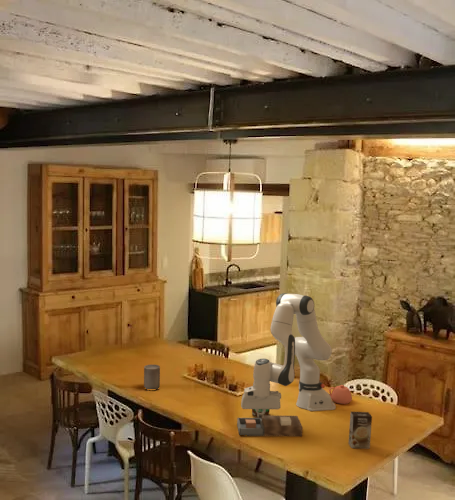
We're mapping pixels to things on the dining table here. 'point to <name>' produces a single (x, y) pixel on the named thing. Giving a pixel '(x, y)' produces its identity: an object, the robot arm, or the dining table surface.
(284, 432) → the block
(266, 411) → the food container
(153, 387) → the smart speaker
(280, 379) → the robot arm
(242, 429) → the bin
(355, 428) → the coffee box
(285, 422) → the cream block
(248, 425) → the terracotta tile
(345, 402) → the sugar bowl
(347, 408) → the dining table surface
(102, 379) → the dining table surface
